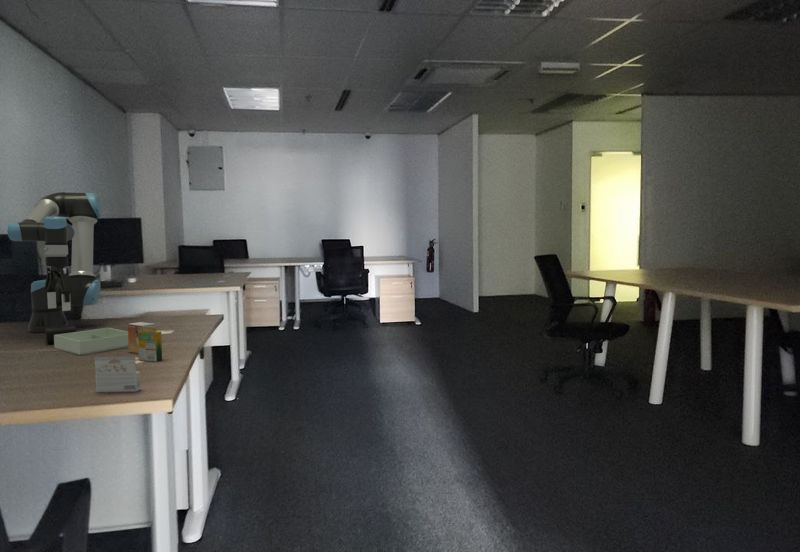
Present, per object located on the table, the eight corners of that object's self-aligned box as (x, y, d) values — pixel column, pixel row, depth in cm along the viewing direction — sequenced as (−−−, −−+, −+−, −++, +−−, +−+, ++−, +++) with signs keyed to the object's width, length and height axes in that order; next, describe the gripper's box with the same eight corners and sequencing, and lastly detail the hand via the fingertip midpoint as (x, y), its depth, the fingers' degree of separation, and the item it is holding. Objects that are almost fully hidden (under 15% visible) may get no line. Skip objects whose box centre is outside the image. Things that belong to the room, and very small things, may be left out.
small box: (128, 352, 190) (127, 323, 189) (142, 349, 194) (141, 321, 194) (142, 354, 186) (141, 325, 185) (156, 351, 191) (155, 323, 190)
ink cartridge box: (100, 389, 143) (98, 354, 142) (141, 389, 143) (139, 354, 142) (95, 392, 140) (93, 356, 139) (137, 392, 140) (135, 356, 140)
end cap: (46, 345, 202) (45, 328, 202) (45, 342, 208) (44, 326, 207) (76, 342, 208) (76, 325, 208) (74, 339, 214) (73, 323, 213)
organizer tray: (54, 347, 197) (53, 334, 197) (109, 339, 213) (108, 327, 213) (80, 355, 184) (79, 341, 184) (136, 346, 200) (136, 333, 200)
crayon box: (162, 359, 178) (161, 326, 177) (156, 361, 175) (155, 327, 174) (144, 358, 180) (143, 325, 179) (138, 360, 177) (137, 326, 176)
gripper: (33, 255, 210) (36, 308, 211) (59, 256, 195) (62, 312, 197) (54, 255, 216) (56, 306, 217) (81, 256, 201) (83, 310, 203)
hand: (59, 309), depth 207 cm, fingers open, 13 cm apart
